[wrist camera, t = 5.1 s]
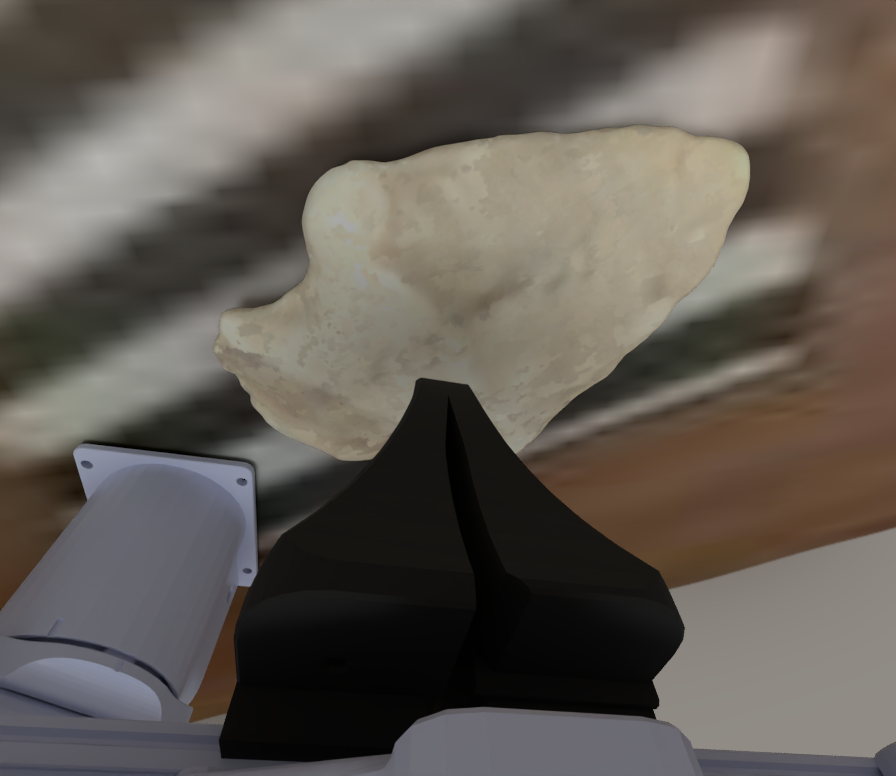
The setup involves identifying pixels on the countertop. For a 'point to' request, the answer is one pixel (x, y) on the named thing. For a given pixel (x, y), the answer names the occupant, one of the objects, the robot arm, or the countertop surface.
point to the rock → (483, 278)
